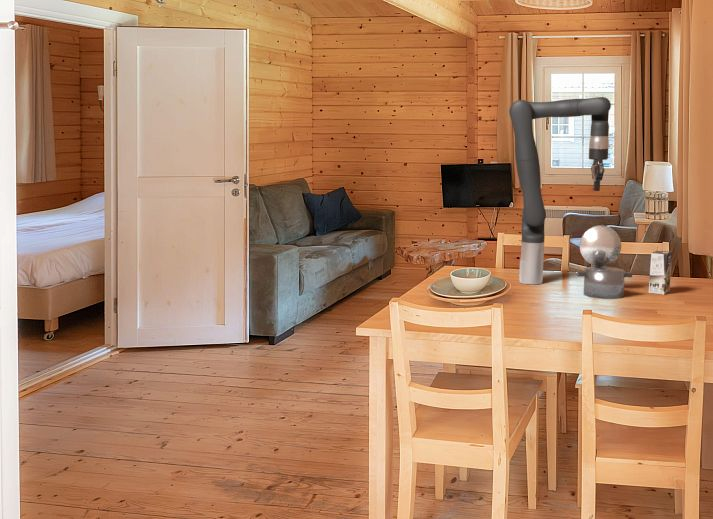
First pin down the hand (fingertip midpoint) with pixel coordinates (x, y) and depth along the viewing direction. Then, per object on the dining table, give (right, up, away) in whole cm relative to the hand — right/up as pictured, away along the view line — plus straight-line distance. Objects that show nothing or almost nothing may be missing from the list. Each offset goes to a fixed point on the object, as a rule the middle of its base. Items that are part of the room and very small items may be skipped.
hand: (596, 190), depth 369 cm
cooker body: (-1, -42, -14) cm, 44 cm away
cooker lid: (-1, -22, -9) cm, 24 cm away
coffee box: (+23, -41, -6) cm, 48 cm away
